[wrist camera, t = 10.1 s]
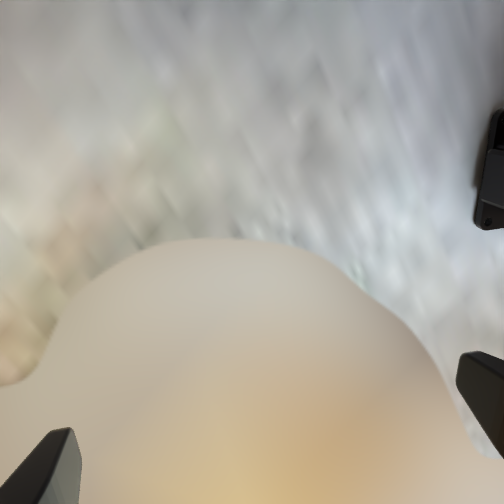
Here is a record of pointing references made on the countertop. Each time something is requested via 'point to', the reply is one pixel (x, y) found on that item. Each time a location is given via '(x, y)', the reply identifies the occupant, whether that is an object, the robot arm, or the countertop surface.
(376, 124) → the countertop surface
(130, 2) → the countertop surface
